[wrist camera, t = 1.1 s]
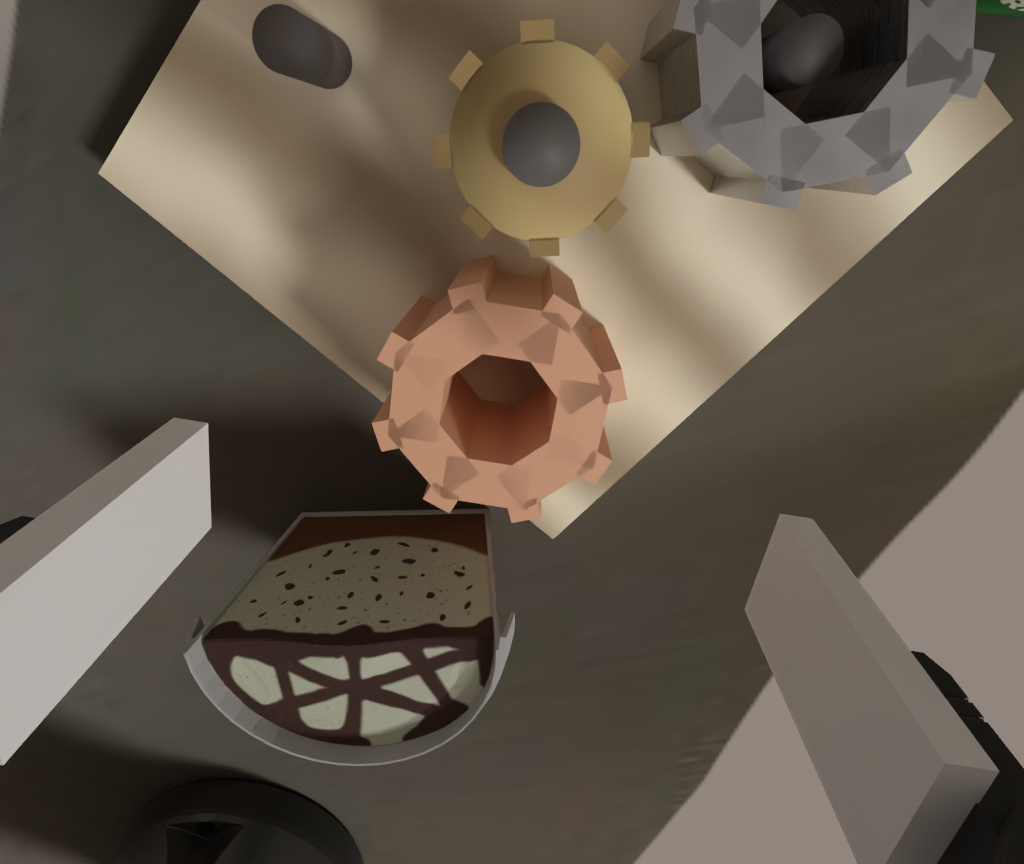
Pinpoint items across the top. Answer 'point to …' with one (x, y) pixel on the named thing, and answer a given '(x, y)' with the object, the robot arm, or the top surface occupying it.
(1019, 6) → the milk carton
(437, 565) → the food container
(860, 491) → the top surface
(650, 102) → the carrier
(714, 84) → the seated gear
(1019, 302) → the top surface
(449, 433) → the planet gear
